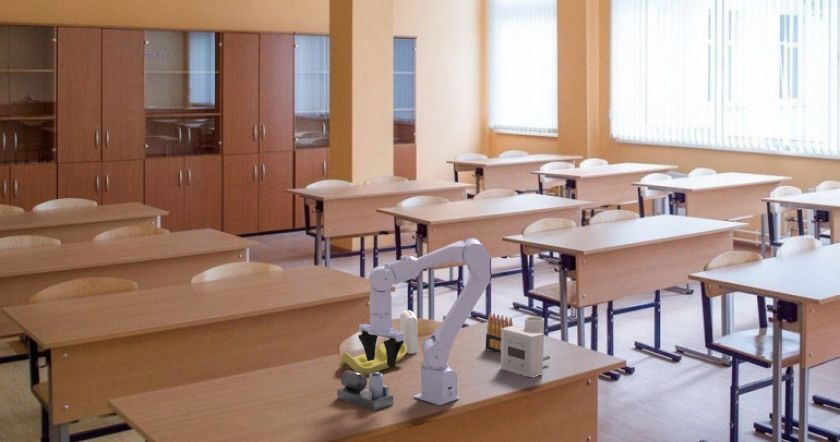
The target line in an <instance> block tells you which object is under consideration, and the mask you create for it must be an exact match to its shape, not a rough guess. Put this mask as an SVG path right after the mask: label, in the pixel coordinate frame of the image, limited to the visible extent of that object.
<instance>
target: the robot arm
mask: <svg viewBox="0 0 840 442" xmlns="http://www.w3.org/2000/svg"><path fill="white" fill-rule="evenodd" d="M450 261H452V262H455V263H459V264H462V263H463V261H464V262H465V264H466V267H467V270H468V275H469V279H468V280H467V282H466V283H465V286H463V288H462V290H461V292H459V293H460V294H459V295H458V297H457V298H456V300H455V302H453V305H452V306H451V308H450V309H449V311H448V313H447V314H446V315H445V317H444V318H443V320H442V322H441V324H440V325H439V326H438V328H436V329H435V330H434V331H433V332H432V334H431V335H430V336H428V337H427V338H425V340H423V343H422V345H421V352H422V354H423V356H424V357H423V358H424V359H423V360H422V362H421V363H420V365H421V366H420V367H421V369H420V383H421V384H420V393H418V394H414V396H413V398H414V399H417V400H421V401H424V402H428V403H431V404H434V405H436V406H443V405H445V404H449V403H451V402H454V401H456V400H459V399H460V396H458V375H457V372H456V371H455V370H453V369H452V368H450V366H449V362H448V361H449V356H450V355H449V354H450V351H451V350H452V348H453V345H454V341H455V339H456V337H457V335H458V334H459V332H460V330H461V328H463V325H465V323H466V321H467V319H468V317H469V316H470V315H471V313H472V311H473V309H474V308H475V306H476V304H477V303H478V301H479V300H480V299H481V296H482V295H483V294H484V292H485V291H486V290H487V287H488V286H489V284H490V282H491V268H490V267H491V257H490V255H489V252H488V250H487V247H485V246H484V245H483V244H482V242H481V241H480V240H479V239H477V238H474V237H470V238H465V240H458V241H455V242H453V243H450V244H448V245H446V246H443V247H441V248H438V249H435V250H434V251H431V252H428V253H427V254H424V255H422V256H420V257H418V258H416V257H415V256H412V255H409V256H407V255H405V254H404V255H401V257H400V259H399V260H396V261H395V260H394V261H393V262H390V263H388V262H385V263H383V266H382V265H379V266H375V267H374V268H372V270H370V273H369V276H368V280H369V283H370V289H369V293H370V295H369V324H368V323H367V324H366V323H361V324H358V332H359V333H361V334H359V335H358V339H359V341H360V343H361V344H362V347H363V350H364V354H365V353H366V357H367V361H371V360H374V359H375V350H376V346H377V340H378V337H381V338H386V339H387V340H384V341H383V343H384V345H385V348H386V353H387V365H388V367H389V368H390V367H391V368H392V367H394V366H396V363H397V361H396V358H397V355H398V352H399V350H400V348H401V346H402V344H403V343H404V340H403V333H401V332H400V330H397V329H394V328H393V312H392V311H393V308H392V307H393V306H392V305H393V304H392V302H393V299H392V298H393V295H392V294H391V293H392V290H391V289H392V286H393V285H398V284H401V283H404V282H406V281H409V280H412V279H415V278H418V277H419V275H420V273H421V272H422V270H425V269H428V268H431V267H434V266H437V265H440V264H441V265H442V264H443V263H447V262H450Z"/></svg>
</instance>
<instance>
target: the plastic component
mask: <svg viewBox="0 0 840 442" xmlns="http://www.w3.org/2000/svg"><path fill="white" fill-rule="evenodd" d="M406 352H407V347H406V345H405V344H404V343H403V344H402V346H401V348H400V350H399V352H398V355H397V358H396V362H398V361H400V360H402V358H403V357H404V356H405V355H406V354H407V353H406ZM338 367H339V368H340V369H342V370H343V369H347V368H351V369H352V370H353V372H356V373H359V374H363V375H365V376H366V377H367V376H369V374H372V372H380V371H383V370H385V369H389V368H390V367H388V365H387V353H386V348H385V345H384V342H383V343H381V344H380V345H378V347H377V348H375V359H374V360H371V361H367V357H366V353H365V352H364V353H363V354H360V355H356V356H354V357H353V356H352V355H351V354H350V353H349V352H345V353H343V355H342V356H341V359H340V361H339V362H338Z"/></svg>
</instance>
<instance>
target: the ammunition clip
mask: <svg viewBox="0 0 840 442" xmlns="http://www.w3.org/2000/svg"><path fill="white" fill-rule="evenodd" d="M513 324H514V323H513V319H512V317H510V318H509V319H508V316H507V315H506V316H505V318H504V316H503V315H501V316H500V315H499V314H497V315H496V313H495V312H494V313H493V314H492V312H488V319H487V324H486V325H487V326H486V327H487V328H486V329H487V330H486V334H485V348H486V349H489V350H492V351H491V352H493V351H495V352H494V353H496V352H498V353H497V354H499V353H501V329H502V328H505V327H510V326H514V325H513ZM486 349H485V350H486ZM489 350H488V351H489Z"/></svg>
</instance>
